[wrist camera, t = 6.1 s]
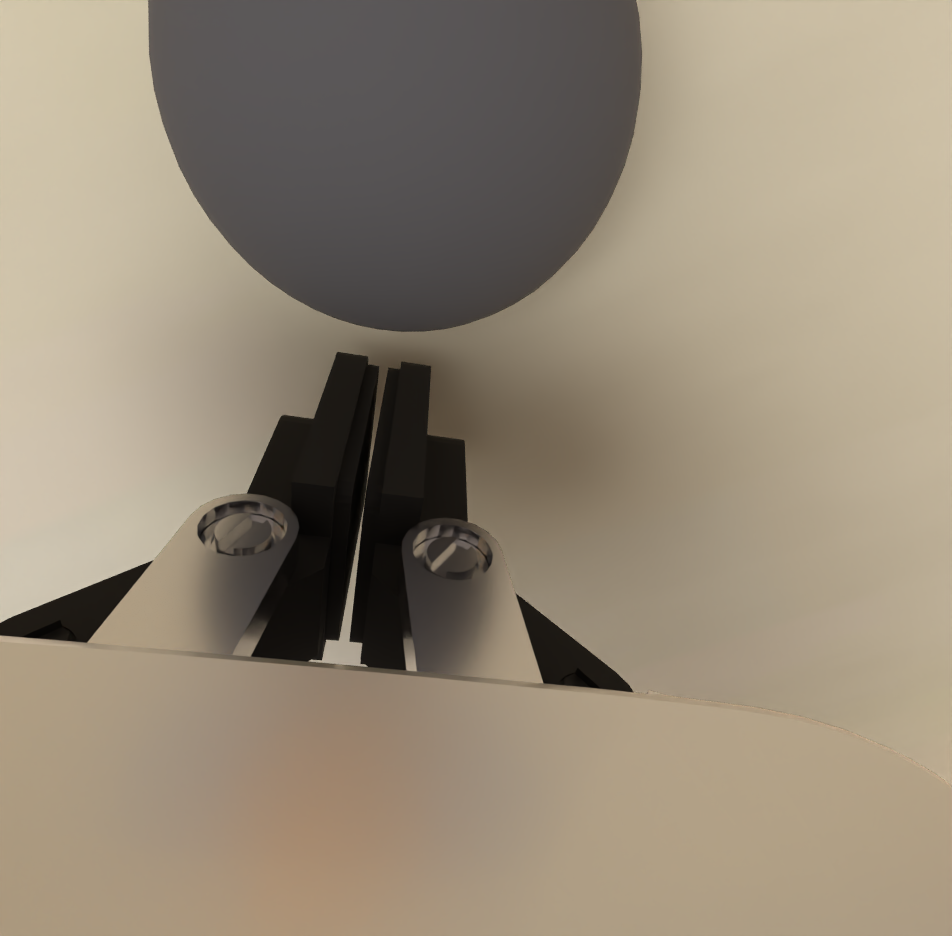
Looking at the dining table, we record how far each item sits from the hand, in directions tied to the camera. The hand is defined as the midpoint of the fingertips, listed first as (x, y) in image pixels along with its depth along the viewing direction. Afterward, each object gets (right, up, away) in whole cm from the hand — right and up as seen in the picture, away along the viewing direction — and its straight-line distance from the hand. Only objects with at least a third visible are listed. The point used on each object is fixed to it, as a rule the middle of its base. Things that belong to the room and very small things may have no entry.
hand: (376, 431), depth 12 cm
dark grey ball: (+1, +4, -4) cm, 6 cm away
